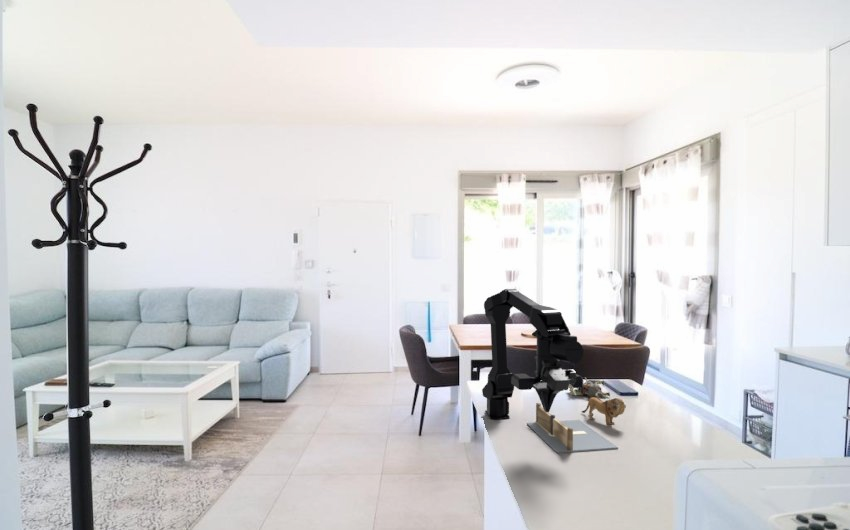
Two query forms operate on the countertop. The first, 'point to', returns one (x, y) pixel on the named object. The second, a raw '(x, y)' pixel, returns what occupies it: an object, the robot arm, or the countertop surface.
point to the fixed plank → (544, 418)
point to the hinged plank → (563, 433)
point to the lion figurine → (606, 408)
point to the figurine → (590, 389)
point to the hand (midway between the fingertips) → (546, 411)
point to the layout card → (574, 438)
